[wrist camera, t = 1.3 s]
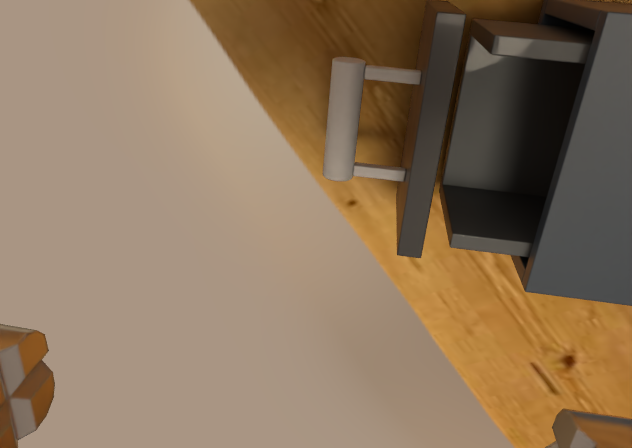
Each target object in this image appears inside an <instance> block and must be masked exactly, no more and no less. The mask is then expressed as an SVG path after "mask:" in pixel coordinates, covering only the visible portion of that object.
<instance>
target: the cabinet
mask: <svg viewBox="0 0 632 448" xmlns="http://www.w3.org/2000/svg"><path fill="white" fill-rule="evenodd" d="M538 24H540V25H551V26H562V27H573V28H584V29H591V30H594V31H595V33H594V37H593V40H592V44H591V47H590V50H589V54H588V57H587V61H586V64H585V68H584V71H583V74H582V78H581V81H580V85H579V88H578V92H577V95H576V99H575V102H574V105H573V109H572V112H571V116H570V119H569V123H568V126H567V129H566V133H565V136H564V140H563V143H562V147H561V150H560V154H559V157H558V160H557V164H556V167H555V171H554V174H553V178H552V181H551V184H550V188H549V191H548V195H547V198H546V202H545V205H544V208H543V212H542V215H541V219H540V222H539V226H538V229H537V233H536V236H535V239H534V243H533V246H532V250H531V253H530V257H522V256H514V255H511V257H512V260H513V262H514V265H515V268H516V270H517V273H518V275H519V278H520V280H521V282H522V285H523V288H524V290H525V292H531V293H539V294H546V295H554V296H562V297H569V298H577V299H584V300H592V301H600V302H607V303H615V304H622V305H630V306H632V4H623V3H612V2H600V1H589V0H544V1H543V5H542V9H541V13H540V17H539V21H538Z"/></svg>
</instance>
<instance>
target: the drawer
mask: <svg viewBox="0 0 632 448" xmlns="http://www.w3.org/2000/svg"><path fill="white" fill-rule="evenodd" d="M465 20H466V14H465V13H464V12H462V11H461V10H459V9H458V8H457V7H455V6H454V5H453V4H451V3H450V2H448V1H439V0H426V5H425V12H424V18H423V25H422V31H421V38H420V44H419V51H418V57H417V64H416V70H412V69H402V68H392V67H382V66H372V65H366V66H365V64H366V62H365V61H364V60H362V59H358V58H352V57H336V58H333V60H332V72H331V83H330V95H329V107H328V118H327V130H326V142H325V153H324V165H323V176H324V177H325V178H327V179H330V180H333V181H348V180H350V179H352V177H353V176H359V177H367V178H376V179H385V180H393V181H398V187H397V194H396V210H397V255H400V256H407V257H415V258H421V255H422V250H423V244H424V239H425V234H426V228H427V223H428V218H429V212H430V207H431V202H432V196H433V191H434V186H435V180H436V175H437V170H438V164H439V159H440V154H441V148H442V143H443V138H444V132H445V127H446V122H447V116H448V111H449V106H450V100H451V95H452V89H453V84H454V79H455V73H456V68H457V63H458V57H459V52H460V47H461V41H462V36H463V31H464V25H465ZM594 33H595V31H594V30H591V29H584V28H573V27H562V26H551V25H540V24H529V23H518V22H507V21H496V20H485V19H472V21H471V27H470V32H469V37H468V42H467V48H466V53H465V58H464V63H463V68H462V74H461V79H460V84H459V89H458V94H457V100H456V105H455V110H454V115H453V120H452V126H451V131H450V136H449V141H448V146H447V152H446V157H445V162H444V167H443V172H442V178H441V183H440V188H439V193H440V199H441V204H442V209H443V214H444V219H445V224H446V229H447V234H448V240H449V245H450V247H451V248H459V249H467V250H475V251H483V252H491V253H499V254H507V255H514V256H522V257H530V253H531V250H532V246H533V243H534V239H535V236H536V233H537V229H538V226H539V222H540V219H541V215H542V212H543V208H544V205H545V202H546V198H547V195H548V191H549V188H550V184H551V181H552V178H553V174H554V171H555V167H556V164H557V160H558V157H559V154H560V150H561V147H562V143H563V140H564V136H565V133H566V129H567V126H568V123H569V119H570V116H571V112H572V109H573V105H574V102H575V99H576V95H577V92H578V88H579V85H580V81H581V78H582V74H583V71H584V68H585V64H586V61H587V57H588V54H589V50H590V47H591V44H592V40H593V37H594ZM364 79H367V80H377V81H387V82H396V83H406V84H413V90H412V96H411V103H410V109H409V116H408V122H407V129H406V135H405V142H404V148H403V155H402V161H401V167H393V166H384V165H375V164H367V163H358V162H355V153H356V144H357V135H358V126H359V117H360V108H361V100H362V91H363V82H364ZM354 162H355V163H354Z"/></svg>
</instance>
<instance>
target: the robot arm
mask: <svg viewBox="0 0 632 448" xmlns="http://www.w3.org/2000/svg"><path fill="white" fill-rule="evenodd" d="M48 351H49V350H48V346H47V342H46V338H45V334H43V333H41V332H39V331H37V330H31V329H26V328H20V327H14V326H8V325H3V324H0V448H18V440H19V439H21V438H23V437H25V436H27V435H28V434H30V433H32V432H34V431H36V430H37V428H38V427H39V425H40V424H41V423H42V421H43V420H44V418H45V417H46V415H47V413H48V411H49V408H50V405H51V403H52V400H53V398H54V386H55V382H54V377H53V372H52V371H51V370H50V369H49V367H48V366H47V365H46V364H45V363H44V362H43V361H42V359H43V358H44V356H45V355H46V353H47V352H48ZM552 429H553V432H554V435H555V438H556V441H555V442H553V443H552V444H550V445H549V446H547V447H545V448H632V419H630V418H626V417H619V416H612V415H604V414H597V413H590V412H583V411H576V410H569V409H562V410H561V411H560V412H559V413H558V414H557V416H556V419H555V421H554V424H553V426H552Z"/></svg>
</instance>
